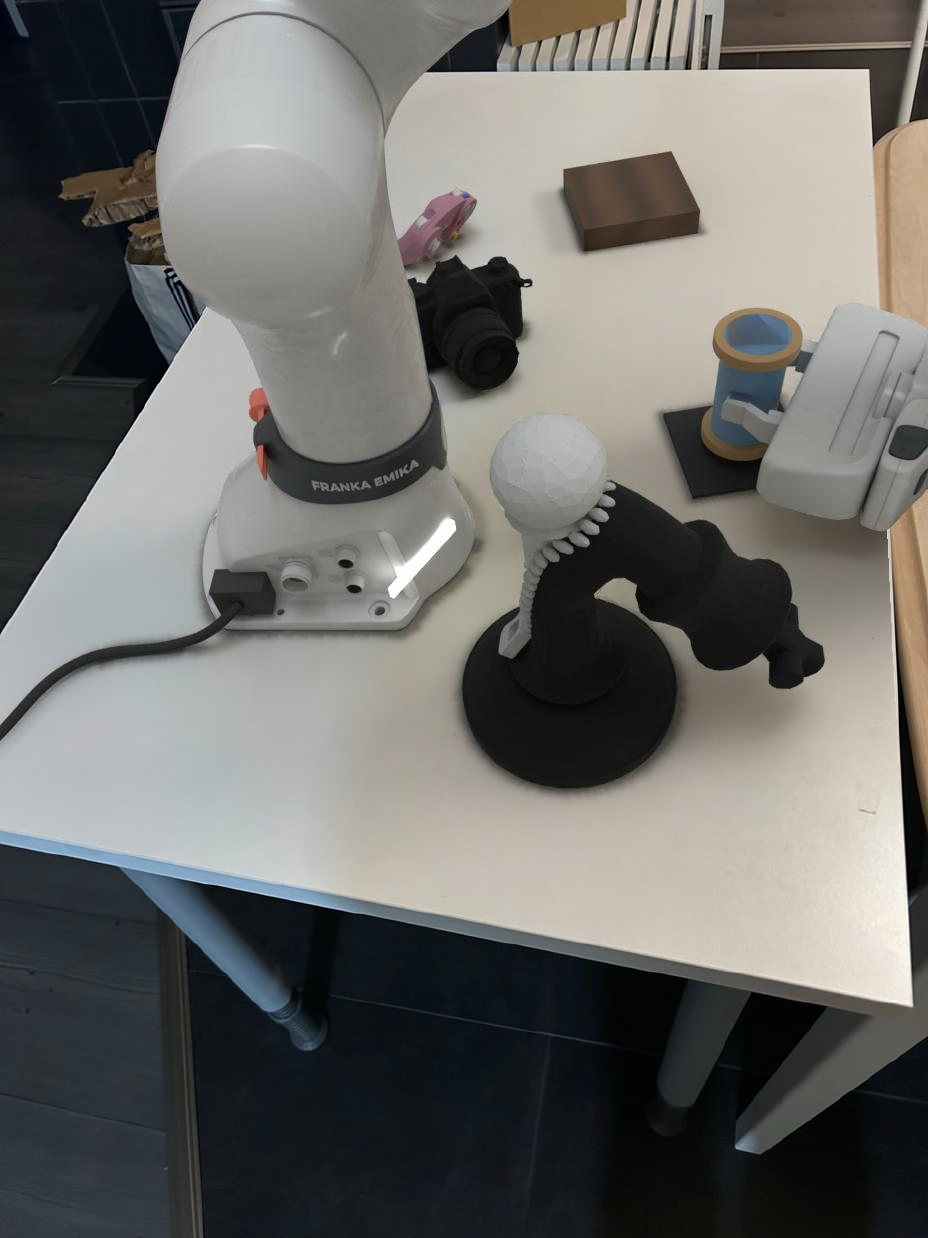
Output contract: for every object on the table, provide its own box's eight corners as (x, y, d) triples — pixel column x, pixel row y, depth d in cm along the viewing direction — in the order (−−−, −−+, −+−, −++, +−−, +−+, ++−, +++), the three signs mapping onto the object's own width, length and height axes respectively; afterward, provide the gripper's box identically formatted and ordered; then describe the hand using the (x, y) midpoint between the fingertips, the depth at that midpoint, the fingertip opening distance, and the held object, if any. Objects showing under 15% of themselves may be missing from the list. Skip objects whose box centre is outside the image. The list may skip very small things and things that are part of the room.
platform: (583, 251, 96) (583, 229, 94) (563, 190, 103) (563, 168, 101) (698, 232, 96) (700, 209, 94) (669, 172, 103) (671, 150, 101)
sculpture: (478, 599, 71) (436, 331, 51) (796, 614, 67) (888, 332, 47) (449, 778, 63) (384, 543, 42) (812, 809, 59) (932, 565, 38)
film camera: (411, 422, 84) (394, 341, 76) (376, 361, 89) (357, 280, 82) (561, 367, 86) (559, 283, 78) (518, 311, 91) (513, 228, 84)
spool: (712, 466, 75) (727, 368, 66) (692, 414, 78) (703, 314, 70) (791, 454, 74) (815, 353, 66) (766, 401, 78) (787, 301, 70)
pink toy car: (416, 286, 98) (431, 241, 92) (384, 258, 98) (396, 211, 92) (471, 238, 102) (489, 191, 96) (440, 211, 102) (456, 163, 96)
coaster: (692, 499, 75) (693, 495, 74) (663, 416, 81) (663, 412, 80) (815, 479, 75) (815, 476, 74) (776, 398, 80) (777, 394, 80)
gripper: (967, 303, 70) (785, 268, 75) (900, 487, 60) (696, 432, 65) (941, 370, 75) (772, 332, 80) (876, 549, 65) (688, 494, 70)
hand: (737, 378), depth 72 cm, fingers closed on spool, 5 cm apart
